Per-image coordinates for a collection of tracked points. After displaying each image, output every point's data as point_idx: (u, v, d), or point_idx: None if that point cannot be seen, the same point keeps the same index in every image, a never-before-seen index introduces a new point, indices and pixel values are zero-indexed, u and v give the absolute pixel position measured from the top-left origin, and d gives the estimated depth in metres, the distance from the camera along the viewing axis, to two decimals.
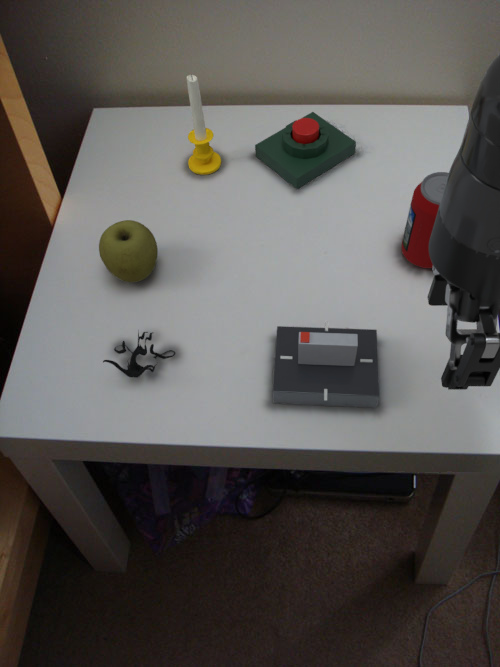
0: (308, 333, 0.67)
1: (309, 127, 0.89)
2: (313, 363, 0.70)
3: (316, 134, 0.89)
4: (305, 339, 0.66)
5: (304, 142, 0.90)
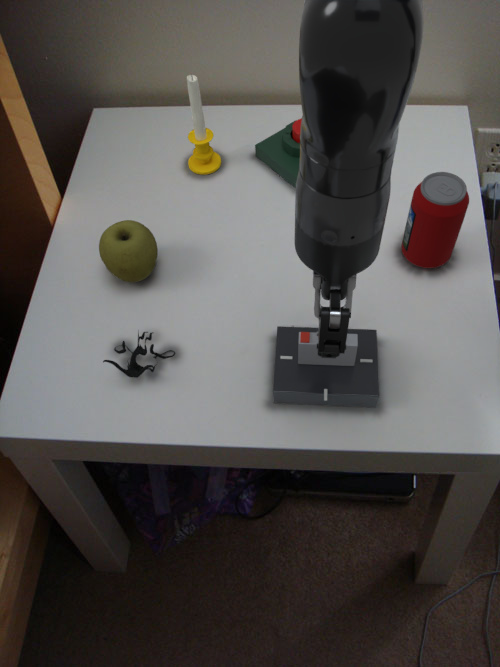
0: (308, 333, 0.67)
1: None
2: (313, 363, 0.70)
3: None
4: (305, 339, 0.66)
5: None
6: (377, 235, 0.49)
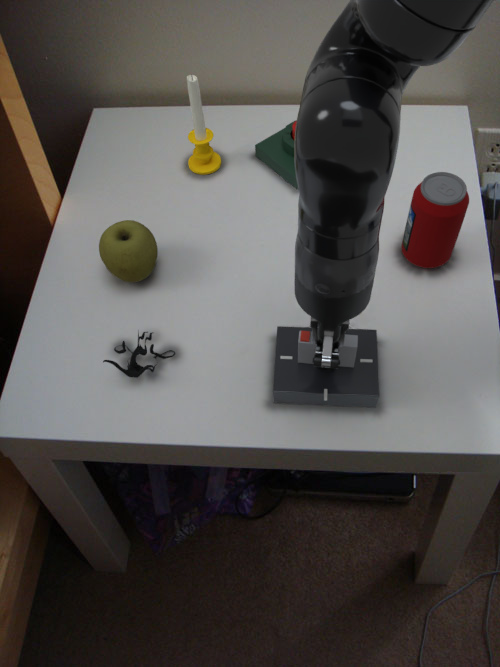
0: (308, 332, 0.67)
1: None
2: None
3: None
4: (305, 338, 0.66)
5: None
6: (366, 289, 0.55)
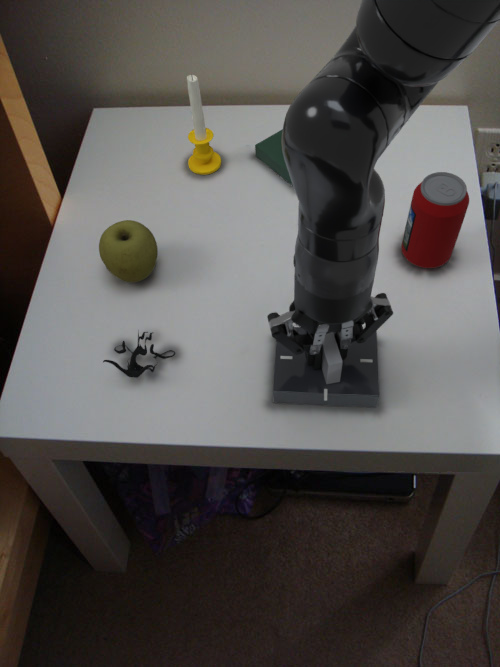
0: None
1: None
2: None
3: None
4: None
5: None
6: (319, 299, 0.54)
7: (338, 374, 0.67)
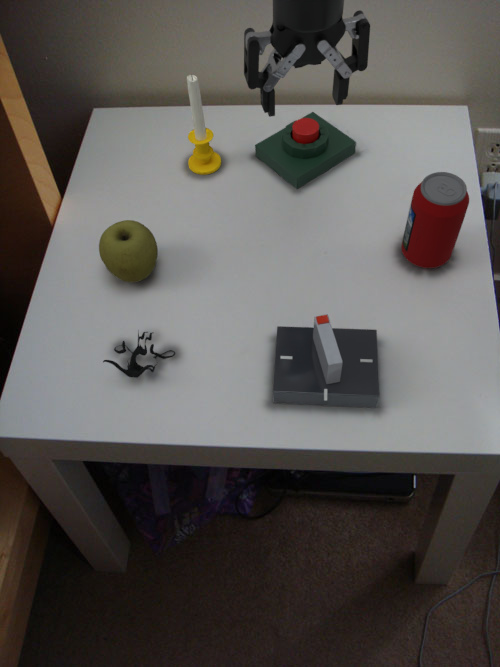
0: (327, 320, 0.67)
1: (309, 127, 0.89)
2: (316, 348, 0.71)
3: (316, 134, 0.89)
4: (319, 319, 0.68)
5: (304, 142, 0.90)
6: None
7: (338, 374, 0.67)
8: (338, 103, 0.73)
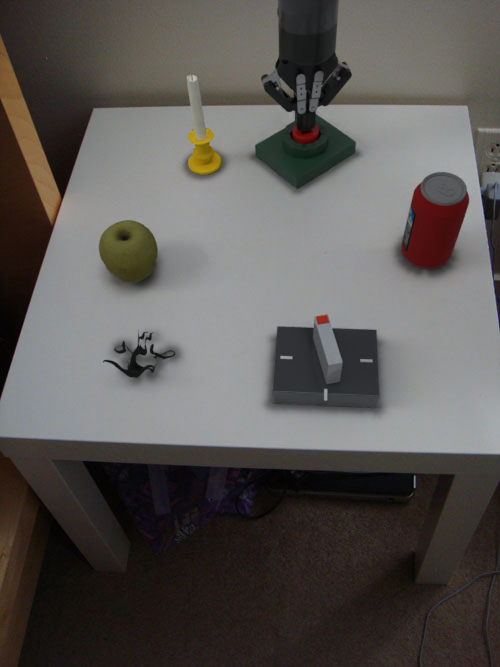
0: (327, 320, 0.67)
1: None
2: (316, 348, 0.71)
3: (316, 137, 0.90)
4: (319, 319, 0.68)
5: None
6: (296, 37, 0.74)
7: (338, 374, 0.67)
8: (307, 131, 0.89)
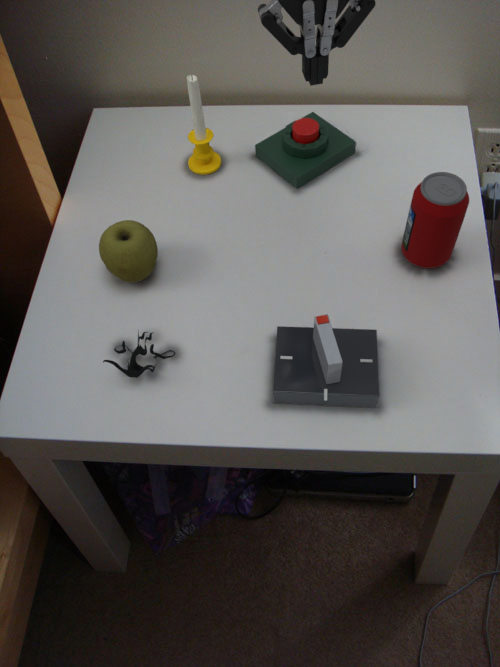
0: (327, 320, 0.67)
1: (309, 127, 0.89)
2: (316, 348, 0.71)
3: (316, 134, 0.89)
4: (319, 319, 0.68)
5: (304, 142, 0.90)
6: None
7: (338, 374, 0.67)
8: (318, 82, 0.70)
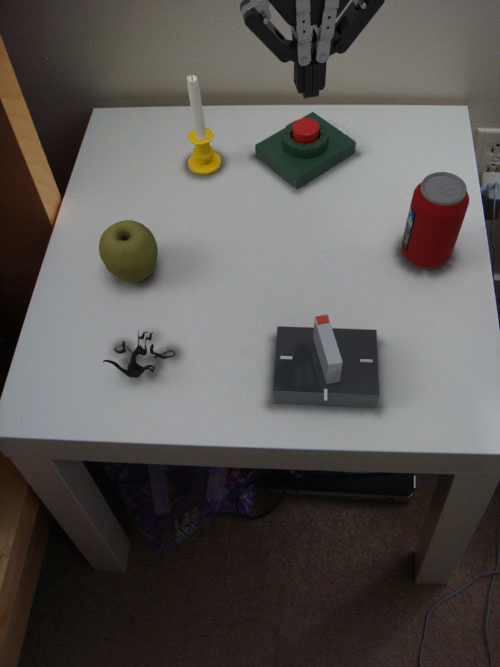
0: (327, 320, 0.67)
1: (309, 127, 0.89)
2: (316, 348, 0.71)
3: (316, 134, 0.89)
4: (319, 319, 0.68)
5: (304, 142, 0.90)
6: None
7: (338, 374, 0.67)
8: (313, 95, 0.58)
